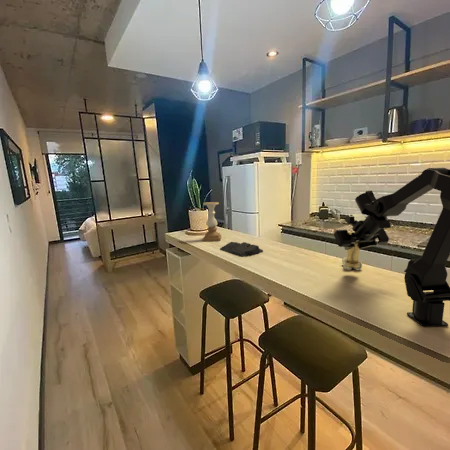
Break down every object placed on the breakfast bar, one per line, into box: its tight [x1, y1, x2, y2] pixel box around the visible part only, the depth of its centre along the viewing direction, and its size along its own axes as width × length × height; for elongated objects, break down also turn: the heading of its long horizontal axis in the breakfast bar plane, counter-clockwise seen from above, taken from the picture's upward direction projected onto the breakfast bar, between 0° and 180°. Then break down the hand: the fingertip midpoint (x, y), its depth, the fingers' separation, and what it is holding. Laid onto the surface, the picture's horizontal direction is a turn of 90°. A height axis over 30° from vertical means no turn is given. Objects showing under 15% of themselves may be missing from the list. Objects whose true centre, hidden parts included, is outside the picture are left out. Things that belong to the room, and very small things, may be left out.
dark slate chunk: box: [219, 241, 264, 258], centre depth 143 cm, size 15×22×5 cm
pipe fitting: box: [341, 256, 363, 271], centre depth 112 cm, size 8×4×7 cm
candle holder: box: [202, 201, 222, 242], centre depth 170 cm, size 11×11×24 cm
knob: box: [345, 231, 361, 269], centre depth 102 cm, size 5×5×13 cm
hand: (350, 248), depth 103 cm, fingers closed on knob, 4 cm apart
